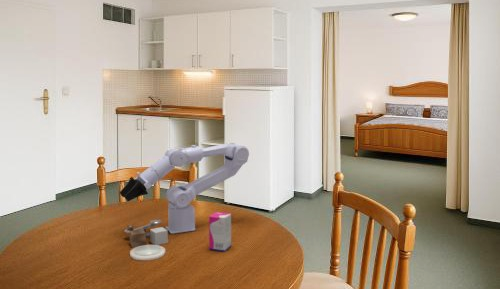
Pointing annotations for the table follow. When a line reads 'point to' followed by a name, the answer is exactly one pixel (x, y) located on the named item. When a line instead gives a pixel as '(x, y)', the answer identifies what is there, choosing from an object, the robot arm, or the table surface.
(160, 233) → the grey block
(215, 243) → the supplement box
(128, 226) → the balance
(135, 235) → the walnut block
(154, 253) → the dish
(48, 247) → the table surface
